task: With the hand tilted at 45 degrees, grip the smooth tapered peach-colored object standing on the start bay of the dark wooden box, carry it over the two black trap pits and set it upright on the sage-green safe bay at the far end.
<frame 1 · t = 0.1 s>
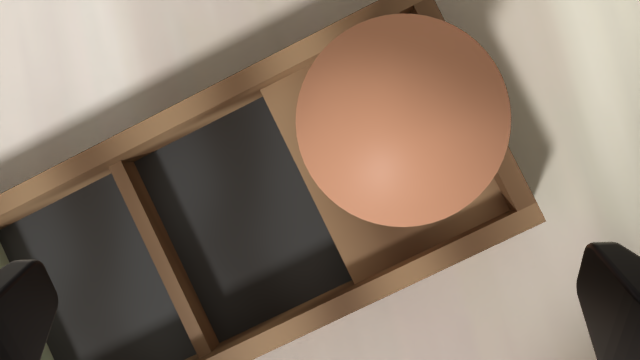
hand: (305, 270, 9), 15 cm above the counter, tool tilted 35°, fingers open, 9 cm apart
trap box: (172, 254, 24), on the counter
smooth tapered peach-colored object: (382, 148, 22), point 1 cm above the counter, touching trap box
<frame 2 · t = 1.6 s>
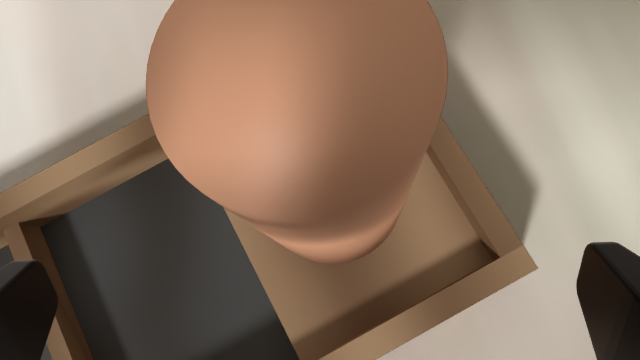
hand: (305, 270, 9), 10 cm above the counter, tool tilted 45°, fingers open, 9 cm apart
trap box: (79, 340, 19), on the counter
smooth tapered peach-colored object: (331, 192, 18), point 1 cm above the counter, touching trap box
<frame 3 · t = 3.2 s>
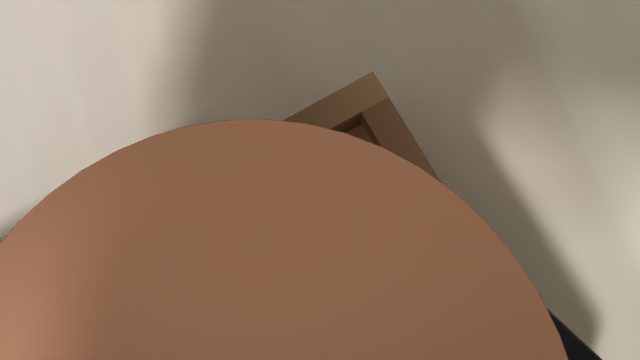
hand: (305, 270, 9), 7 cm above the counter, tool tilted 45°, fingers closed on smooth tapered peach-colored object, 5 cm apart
smooth tapered peach-colored object: (327, 336, 13), point 2 cm above the counter, touching gripper, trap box
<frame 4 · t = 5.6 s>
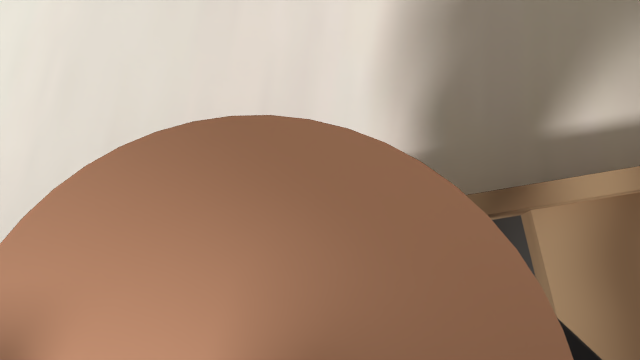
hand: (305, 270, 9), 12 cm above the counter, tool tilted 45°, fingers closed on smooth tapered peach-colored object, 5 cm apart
smooth tapered peach-colored object: (328, 335, 13), point 7 cm above the counter, touching gripper
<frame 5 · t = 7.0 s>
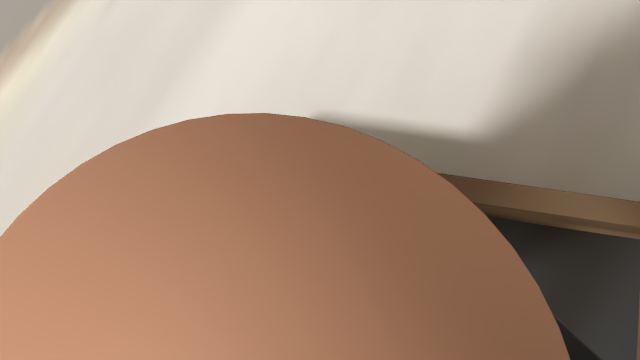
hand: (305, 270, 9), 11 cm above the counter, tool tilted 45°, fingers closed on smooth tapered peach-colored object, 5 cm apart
smooth tapered peach-colored object: (327, 334, 13), point 6 cm above the counter, touching gripper
when the fingers open (8 cm above the counter, at t = 8.0 s): smooth tapered peach-colored object drops 1 cm, resting on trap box.
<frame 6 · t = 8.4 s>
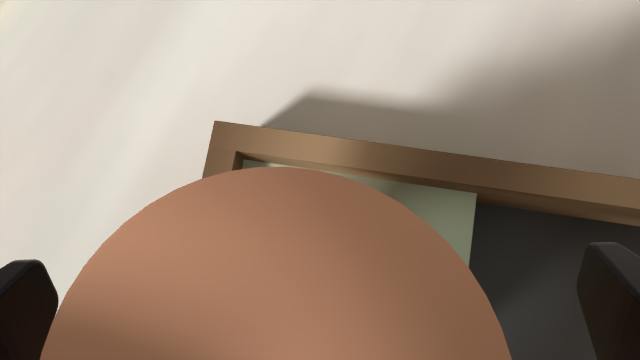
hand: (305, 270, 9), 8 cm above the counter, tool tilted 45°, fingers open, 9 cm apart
smooth tapered peach-colored object: (332, 333, 15), point 2 cm above the counter, touching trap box
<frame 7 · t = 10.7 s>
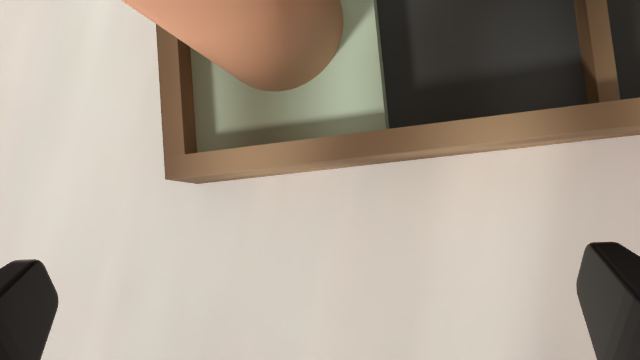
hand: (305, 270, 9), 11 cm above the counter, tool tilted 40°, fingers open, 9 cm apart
smooth tapered peach-colored object: (278, 26, 19), point 1 cm above the counter, touching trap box
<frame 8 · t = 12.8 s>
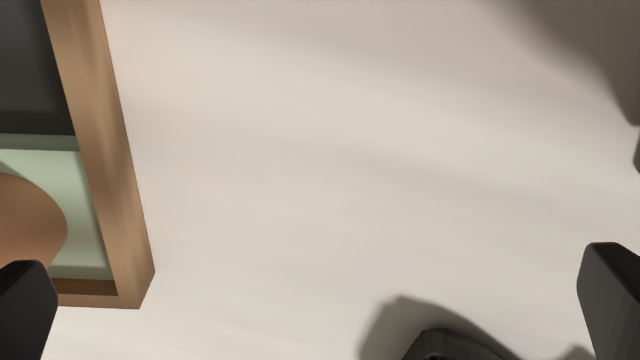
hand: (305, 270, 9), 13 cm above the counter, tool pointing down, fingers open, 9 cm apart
smooth tapered peach-colored object: (12, 218, 23), point 1 cm above the counter, touching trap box
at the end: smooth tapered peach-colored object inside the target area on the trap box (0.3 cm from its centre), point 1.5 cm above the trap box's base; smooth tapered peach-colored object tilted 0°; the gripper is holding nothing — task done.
